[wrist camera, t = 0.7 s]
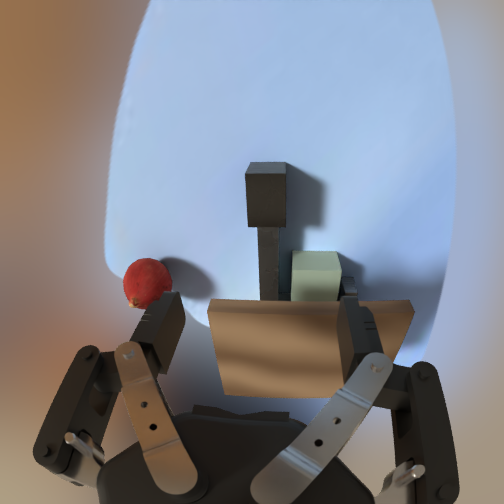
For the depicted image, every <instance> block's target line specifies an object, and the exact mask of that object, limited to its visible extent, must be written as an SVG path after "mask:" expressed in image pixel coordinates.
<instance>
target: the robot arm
mask: <svg viewBox="0 0 504 504" xmlns="http://www.w3.org/2000/svg"><path fill="white" fill-rule="evenodd" d="M184 325H185V312H184V308H183V304H182V300H181V296H180V293H179V292H170V291H164V292H163V294H162V295H161V297H160V299H159V301H158V300H155V301H153V302H152V303H151V304H150V305H149V306H148V307H147V309H146V311H145V312H144V315H143V316H142V318H141V321H140V322H139V324H138V325H137V328H136V329H135V331H134V333H133V335H132V337H131V339H130V341H129V342H125V343H122V344H121V345H119V346H118V347H117V348H116V350H115V351H112V352H101V353H100V351H99V349H98V348H97V347H95V346H92V345H88V346H85V347H83V348H81V349H80V350H79V351H78V352H77V354H76V356H75V358H74V360H73V362H72V364H71V365H70V367H69V369H68V372H67V373H66V375H65V377H64V379H63V381H62V384H61V385H60V387H59V390H58V391H57V394H56V396H55V398H54V400H53V402H52V404H51V406H50V409H49V411H48V413H47V415H46V418H45V420H44V422H43V425H42V427H41V429H40V432H39V434H38V437H37V439H36V442H35V444H34V447H33V456H34V458H35V460H36V462H38V463H39V464H40V465H42V466H43V467H45V468H46V469H48V470H49V471H50V472H52V473H53V474H55V475H57V476H59V477H60V478H62V479H64V480H66V481H69V482H71V483H73V484H75V485H77V486H84V485H85V486H87V487H90V488H92V489H95V490H97V491H98V496H99V502H100V504H453V503H454V502H455V501H456V499H457V497H458V495H459V488H460V487H459V478H458V469H457V461H456V454H455V448H454V442H453V436H452V430H451V425H450V420H449V416H448V411H447V407H446V403H445V398H444V394H443V391H442V387H441V383H440V380H439V376H438V372H437V370H436V368H435V367H434V366H433V365H432V364H430V363H428V362H423V361H420V362H417V363H415V364H414V365H413V366H412V367H411V368H410V367H404V366H399V365H396V364H394V363H392V361H391V359H390V358H389V357H388V356H386V355H385V354H384V351H383V347H382V344H381V340H380V337H379V333H378V330H377V326H376V323H375V319H374V316H373V313H372V312H371V311H370V310H369V309H368V307H367V306H359V302H358V299H357V296H342V297H341V299H340V305H339V310H338V315H337V322H336V330H337V337H338V344H339V351H340V358H341V366H342V374H343V382H344V384H345V385H344V386H343V388H342V389H338V390H337V391H336V393H335V394H334V395H333V396H332V397H331V399H330V400H329V401H328V403H327V404H326V405H325V406H324V407H323V408H322V410H321V411H320V412H319V413H318V414H317V416H316V417H315V418H314V419H313V420H312V421H311V422H310V424H309V425H308V426H307V425H306V424H304V423H302V422H300V421H298V420H295V419H291V418H289V412H271V411H264V412H258V413H251V414H245V415H238V414H234V413H231V412H228V411H225V410H222V409H219V408H217V407H209V406H201V405H194V407H193V411H188V412H183V413H179V414H177V415H175V416H174V414H173V413H172V411H171V409H170V407H169V405H168V403H167V401H166V398H165V396H164V394H163V392H162V390H161V388H160V385H159V383H158V381H157V376H158V373H160V374H167V371H168V368H169V365H170V363H171V360H172V357H173V355H174V352H175V349H176V346H177V344H178V341H179V339H180V336H181V333H182V331H183V328H184ZM119 392H122V395H123V398H124V401H125V404H126V407H127V410H128V413H129V416H130V419H131V421H132V424H133V427H134V429H135V432H136V435H137V437H138V440H139V441H138V442H136V443H134V444H133V445H131V446H130V447H129V448H127V449H126V450H124V451H123V452H121V453H120V454H118V455H116V456H115V457H114V458H112V459H110V460H109V461H107V462H106V463H105V459H104V456H105V455H104V450H103V448H102V447H101V443H102V439H103V437H104V433H105V430H106V428H107V425H108V422H109V419H110V416H111V413H112V410H113V407H114V404H115V402H116V399H117V396H118V393H119ZM372 406H376V407H382V408H386V409H391V417H392V426H393V435H394V436H393V437H394V448H395V464H396V468H395V469H394V470H392V471H391V472H390V473H389V474H388V475H387V476H386V477H385V479H384V483H383V488H382V490H381V492H380V493H379V495H378V496H376V497H373V495H372V493H371V491H370V490H369V489H368V488H367V487H366V486H365V485H364V484H363V483H362V482H361V481H360V480H359V479H358V478H357V477H356V476H355V475H354V474H353V473H352V472H351V471H350V470H349V468H348V467H347V466H346V465H345V464H344V463H343V462H342V461H341V460H340V459H339V458H338V457H337V456H338V454H339V453H340V452H341V451H342V449H343V448H344V447H345V445H346V444H347V443H348V441H349V440H350V438H351V437H352V436H353V434H354V433H355V431H356V430H357V428H358V427H359V425H360V424H361V423H362V421H363V420H364V418H365V417H366V415H367V414H368V412H369V411H370V409H371V408H372ZM104 463H105V464H104Z"/></svg>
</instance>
